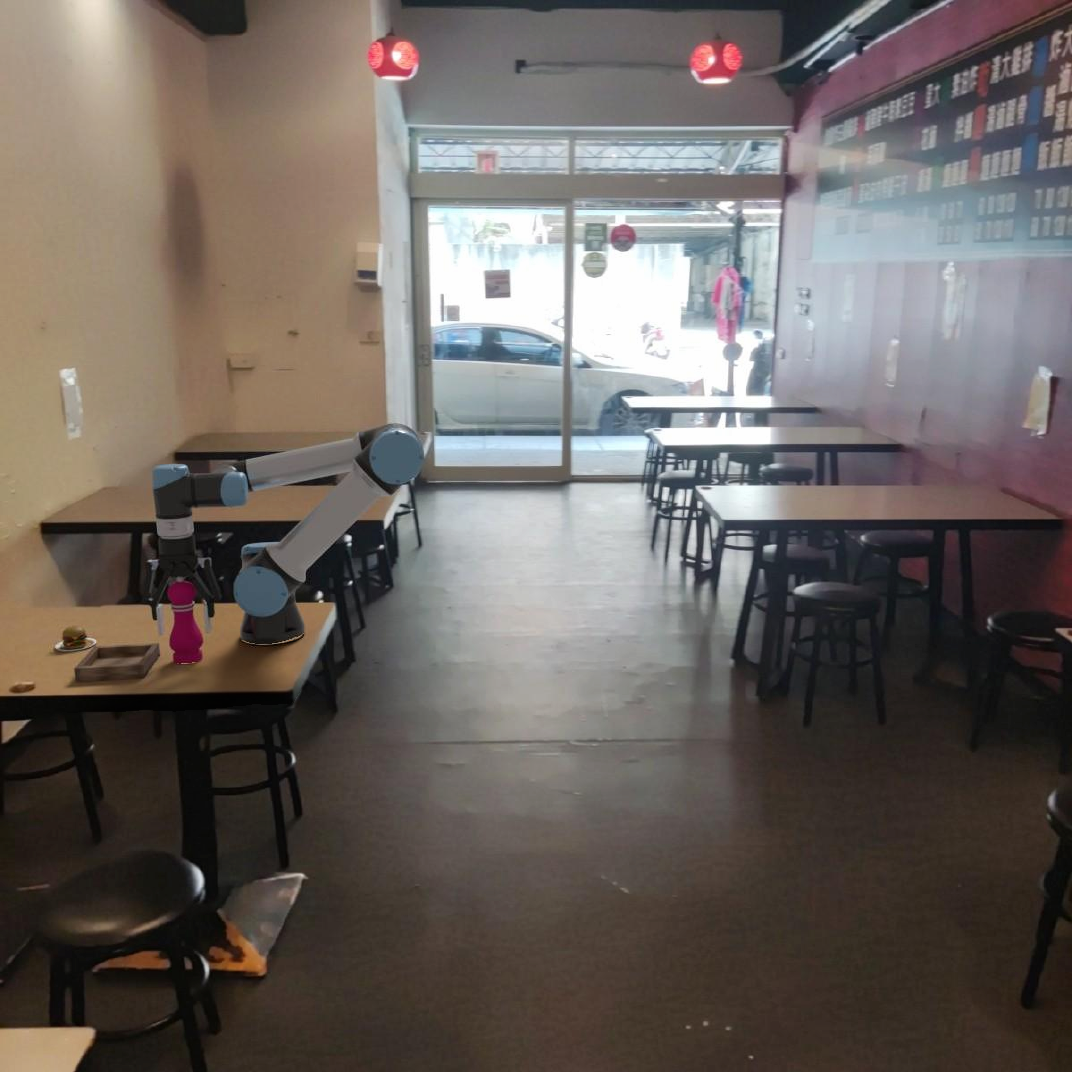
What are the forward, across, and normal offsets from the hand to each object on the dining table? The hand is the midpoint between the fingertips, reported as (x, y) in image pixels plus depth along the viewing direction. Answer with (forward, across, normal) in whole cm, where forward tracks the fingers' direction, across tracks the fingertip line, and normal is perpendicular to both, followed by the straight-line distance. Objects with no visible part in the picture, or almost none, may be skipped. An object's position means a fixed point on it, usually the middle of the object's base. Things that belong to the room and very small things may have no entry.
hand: (185, 632), depth 214 cm
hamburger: (+7, -28, +14) cm, 33 cm away
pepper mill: (+7, 0, 0) cm, 7 cm away
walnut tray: (+7, -14, -3) cm, 16 cm away
